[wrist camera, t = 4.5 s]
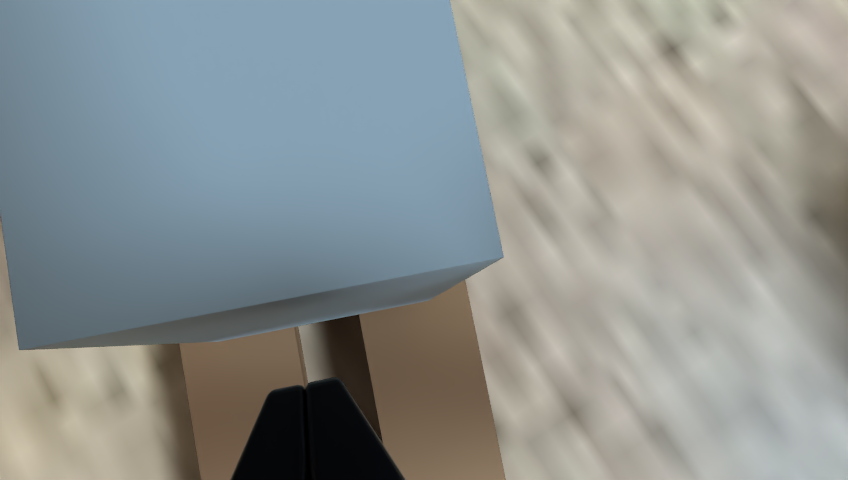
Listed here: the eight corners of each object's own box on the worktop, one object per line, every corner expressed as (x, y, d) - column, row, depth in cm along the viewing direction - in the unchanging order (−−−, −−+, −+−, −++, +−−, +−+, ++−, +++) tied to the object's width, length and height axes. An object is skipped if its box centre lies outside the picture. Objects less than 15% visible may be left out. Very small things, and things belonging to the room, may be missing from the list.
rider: (424, 302, 17) (503, 257, 7) (229, 341, 17) (18, 350, 7) (390, 133, 18) (420, -137, 8) (199, 166, 17) (-39, -73, 7)
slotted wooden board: (502, 504, 18) (520, 527, 16) (233, 564, 17) (214, 596, 15) (362, -188, 20) (361, -250, 18) (115, -155, 19) (84, -216, 17)
